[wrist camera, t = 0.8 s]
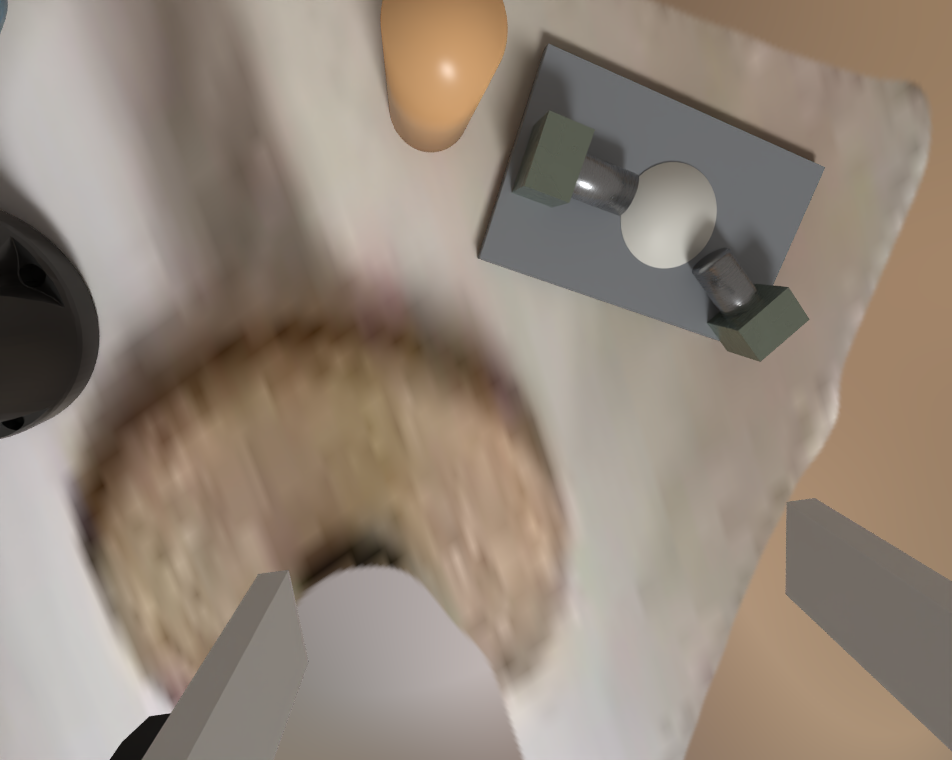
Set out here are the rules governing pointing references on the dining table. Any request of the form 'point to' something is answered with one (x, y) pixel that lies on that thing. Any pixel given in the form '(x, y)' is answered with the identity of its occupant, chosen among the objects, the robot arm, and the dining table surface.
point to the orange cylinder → (439, 65)
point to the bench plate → (650, 198)
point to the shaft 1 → (571, 169)
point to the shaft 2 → (747, 307)
